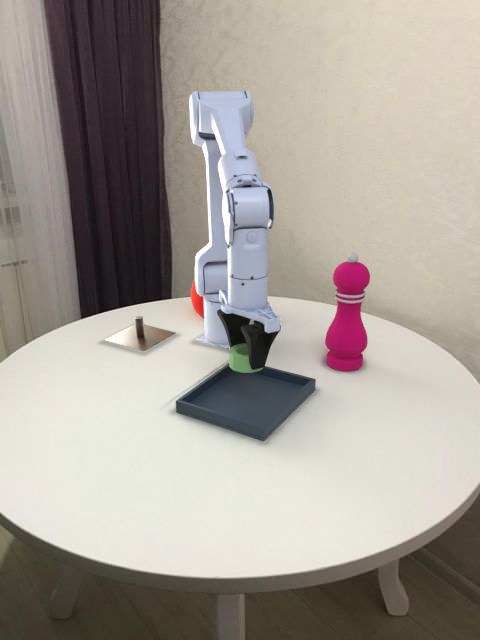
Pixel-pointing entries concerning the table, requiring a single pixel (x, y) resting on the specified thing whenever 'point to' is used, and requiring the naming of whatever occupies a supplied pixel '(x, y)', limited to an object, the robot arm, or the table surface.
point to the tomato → (197, 300)
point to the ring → (240, 359)
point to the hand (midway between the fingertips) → (247, 359)
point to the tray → (247, 399)
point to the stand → (140, 336)
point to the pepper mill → (348, 316)
